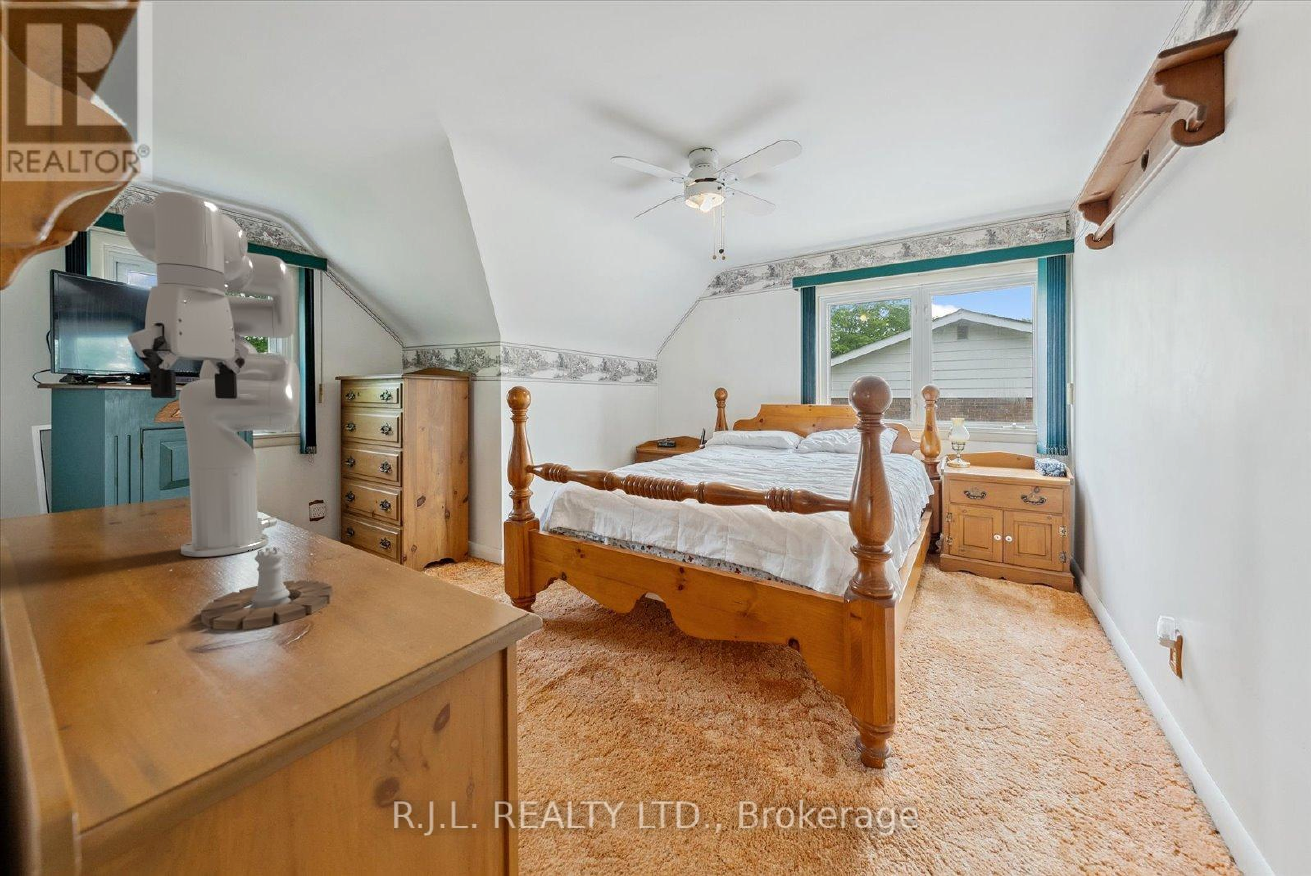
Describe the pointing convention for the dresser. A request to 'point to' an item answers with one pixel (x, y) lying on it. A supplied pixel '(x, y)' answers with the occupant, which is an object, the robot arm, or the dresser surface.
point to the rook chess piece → (269, 580)
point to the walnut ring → (234, 615)
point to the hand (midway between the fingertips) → (197, 398)
